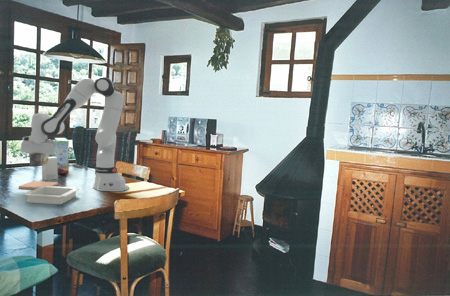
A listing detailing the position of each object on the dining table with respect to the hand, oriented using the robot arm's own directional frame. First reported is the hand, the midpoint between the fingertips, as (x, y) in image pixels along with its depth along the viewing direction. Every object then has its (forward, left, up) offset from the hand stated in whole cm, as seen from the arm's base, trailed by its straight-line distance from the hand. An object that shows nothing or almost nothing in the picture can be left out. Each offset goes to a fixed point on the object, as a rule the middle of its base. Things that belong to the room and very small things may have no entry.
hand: (38, 160), depth 198 cm
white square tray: (-21, +24, -17) cm, 36 cm away
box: (0, -1, -3) cm, 3 cm away
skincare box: (+5, -23, -17) cm, 29 cm away
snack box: (+12, -54, -17) cm, 58 cm away
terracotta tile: (0, -1, -17) cm, 17 cm away
